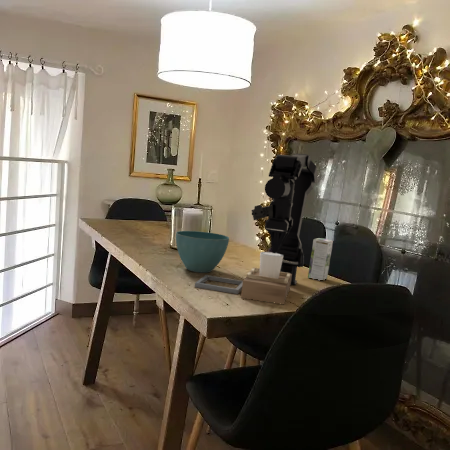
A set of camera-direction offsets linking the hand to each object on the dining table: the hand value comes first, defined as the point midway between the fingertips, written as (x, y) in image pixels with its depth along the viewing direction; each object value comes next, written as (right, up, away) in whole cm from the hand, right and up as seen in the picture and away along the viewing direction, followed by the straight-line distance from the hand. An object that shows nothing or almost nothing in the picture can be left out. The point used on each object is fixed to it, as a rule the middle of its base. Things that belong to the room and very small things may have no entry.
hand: (276, 251), depth 143 cm
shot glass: (-2, -8, 0) cm, 8 cm away
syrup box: (+18, -12, +32) cm, 39 cm away
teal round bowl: (-24, -8, +23) cm, 35 cm away
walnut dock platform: (-3, -13, +1) cm, 13 cm away
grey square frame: (-16, -11, +3) cm, 20 cm away
